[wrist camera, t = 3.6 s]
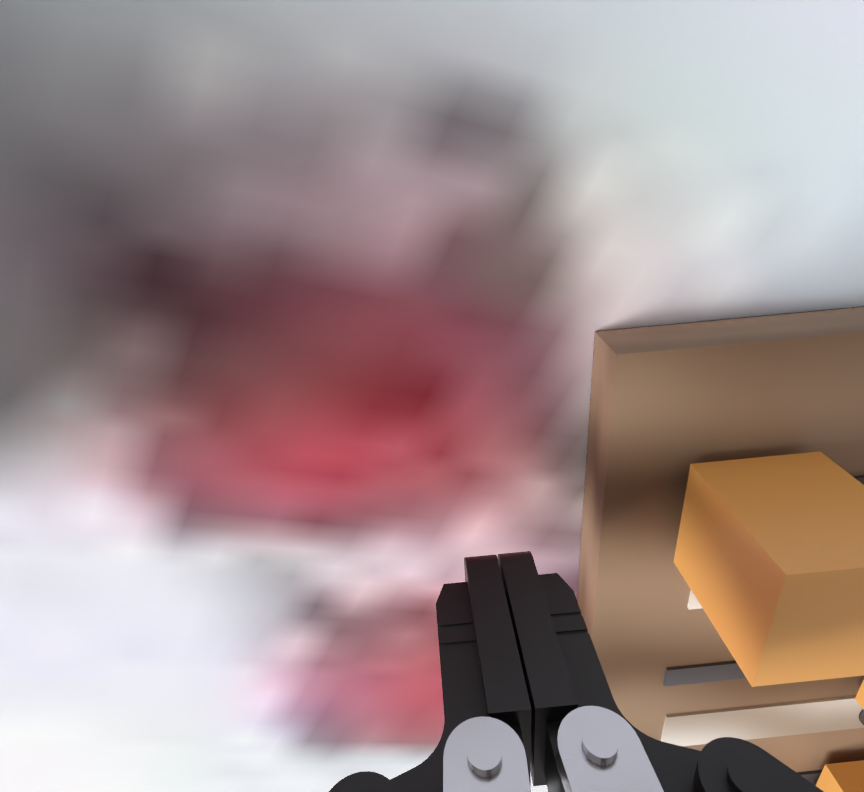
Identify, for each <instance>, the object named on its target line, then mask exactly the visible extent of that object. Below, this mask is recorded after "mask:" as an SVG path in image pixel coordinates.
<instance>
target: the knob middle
mask: <svg viewBox="0 0 864 792" xmlns="http://www.w3.org/2000/svg"><path fill="white" fill-rule="evenodd" d="M855 699H856V701H857V702H858V703H859V704H860V706H861V707H862V708H863V710H864V680H863V682H862V684H861V686H860V688H859V691H858V693H857V695H856V697H855Z"/></svg>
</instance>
